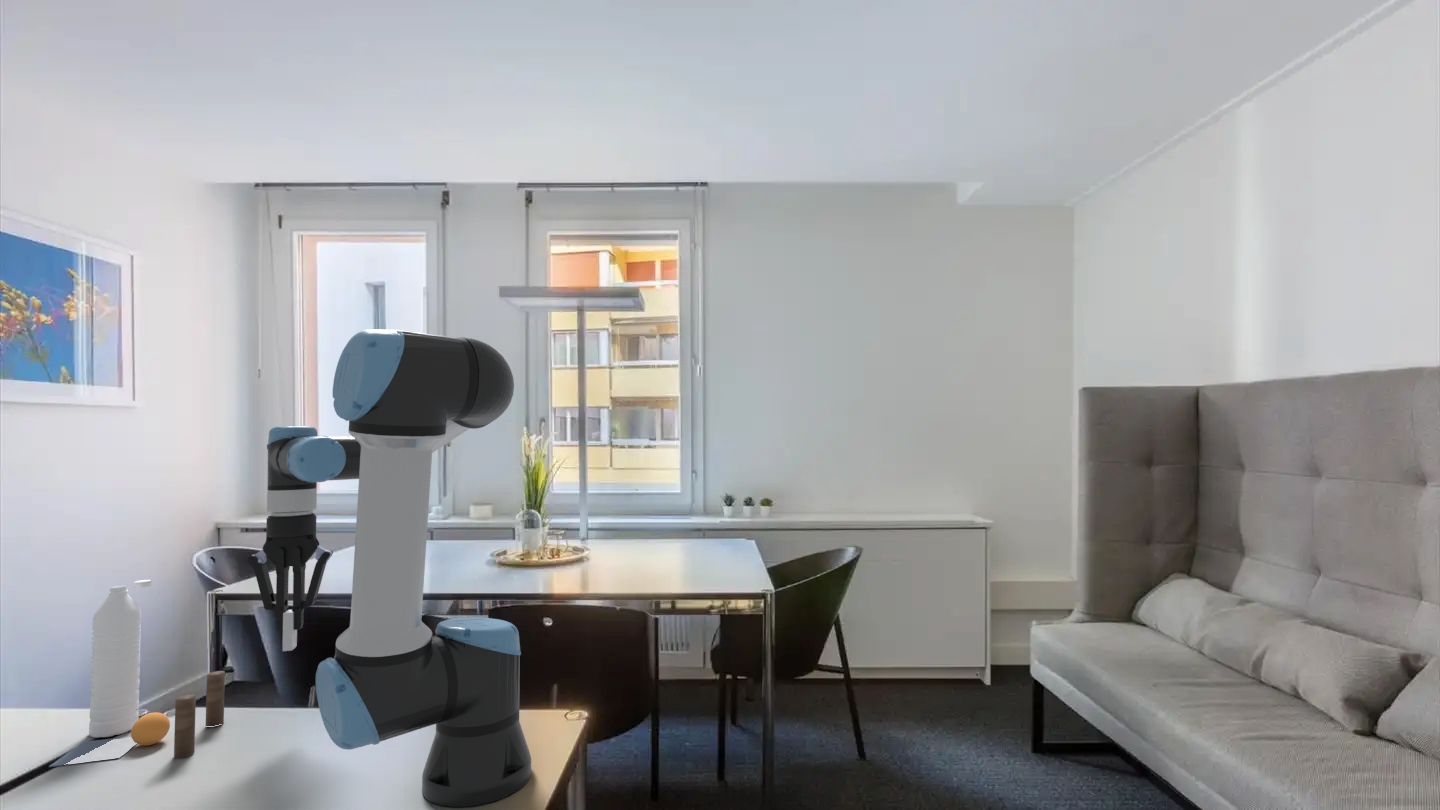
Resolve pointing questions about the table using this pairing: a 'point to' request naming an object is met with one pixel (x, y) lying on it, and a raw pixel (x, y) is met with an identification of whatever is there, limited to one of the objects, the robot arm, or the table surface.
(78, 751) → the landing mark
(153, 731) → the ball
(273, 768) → the table surface
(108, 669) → the water bottle
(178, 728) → the near post
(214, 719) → the far post
